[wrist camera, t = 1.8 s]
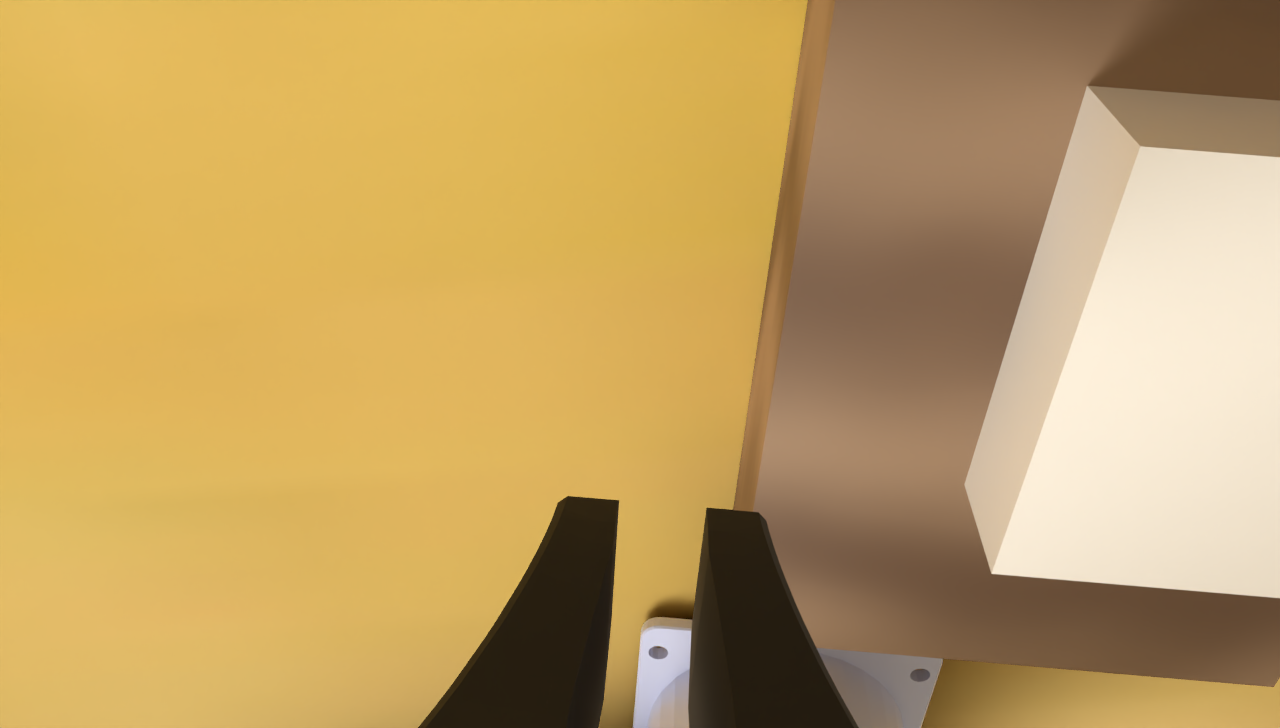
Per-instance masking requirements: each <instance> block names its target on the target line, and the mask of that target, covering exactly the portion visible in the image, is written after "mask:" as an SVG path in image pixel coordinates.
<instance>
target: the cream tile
mask: <svg viewBox="0 0 1280 728" xmlns="http://www.w3.org/2000/svg"><path fill="white" fill-rule="evenodd" d="M964 485H965V488H966V492H967V495H968V498H969V502H970V505H971V508H972V511H973V515H974V518H975V521H976V525H977V528H978V531H979V534H980V538H981V541H982V544H983V548H984V551H985V554H986V557H987V561H988V564H989V567H990V571H991V574H1000V575H1011V576H1023V577H1035V578H1047V579H1059V580H1071V581H1082V582H1094V583H1106V584H1118V585H1130V586H1142V587H1154V588H1165V589H1177V590H1189V591H1201V592H1213V593H1225V594H1236V595H1248V596H1260V597H1272V598H1280V101H1278V100H1265V99H1253V98H1240V97H1227V96H1214V95H1201V94H1188V93H1175V92H1162V91H1150V90H1137V89H1124V88H1111V87H1098V86H1087V87H1086V91H1085V94H1084V97H1083V100H1082V104H1081V107H1080V110H1079V113H1078V117H1077V120H1076V123H1075V127H1074V130H1073V133H1072V136H1071V140H1070V143H1069V146H1068V149H1067V153H1066V156H1065V159H1064V162H1063V166H1062V169H1061V172H1060V175H1059V179H1058V182H1057V185H1056V188H1055V192H1054V195H1053V198H1052V201H1051V205H1050V208H1049V211H1048V214H1047V218H1046V221H1045V224H1044V227H1043V231H1042V234H1041V237H1040V240H1039V244H1038V247H1037V250H1036V253H1035V257H1034V260H1033V263H1032V266H1031V270H1030V273H1029V276H1028V279H1027V283H1026V286H1025V289H1024V292H1023V296H1022V299H1021V302H1020V305H1019V309H1018V312H1017V315H1016V319H1015V322H1014V325H1013V328H1012V332H1011V335H1010V338H1009V341H1008V345H1007V348H1006V351H1005V354H1004V358H1003V361H1002V364H1001V367H1000V371H999V374H998V377H997V380H996V384H995V387H994V390H993V393H992V397H991V400H990V403H989V406H988V410H987V413H986V416H985V419H984V423H983V426H982V429H981V432H980V436H979V439H978V442H977V445H976V449H975V452H974V455H973V458H972V462H971V465H970V468H969V471H968V475H967V478H966V481H965V484H964Z"/></svg>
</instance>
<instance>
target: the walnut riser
mask: <svg viewBox="0 0 1280 728" xmlns="http://www.w3.org/2000/svg"><path fill="white" fill-rule="evenodd" d="M1087 86H1098V87H1111V88H1124V89H1137V90H1150V91H1162V92H1175V93H1188V94H1201V95H1214V96H1227V97H1240V98H1253V99H1265V100H1278V101H1280V0H808V5H807V11H806V18H805V25H804V32H803V39H802V45H801V52H800V59H799V66H798V73H797V79H796V86H795V93H794V100H793V107H792V113H791V120H790V127H789V134H788V141H787V148H786V154H785V161H784V168H783V175H782V182H781V188H780V195H779V202H778V209H777V216H776V222H775V229H774V236H773V243H772V250H771V257H770V263H769V270H768V277H767V284H766V291H765V297H764V304H763V311H762V318H761V325H760V331H759V338H758V345H757V352H756V359H755V366H754V372H753V379H752V386H751V393H750V400H749V406H748V413H747V420H746V427H745V434H744V440H743V447H742V454H741V461H740V468H739V475H738V481H737V488H736V495H735V502H734V509H733V510H738V511H750V512H759V513H760V514H761V515H762V516H763V518H764V519H765V520H766V521H767V525H768V529H769V532H770V536H771V539H772V542H773V545H774V549H775V551H776V554H777V557H778V560H779V563H780V565H781V568H782V571H783V573H784V576H785V579H786V581H787V583H788V586H789V588H790V591H791V593H792V596H793V598H794V601H795V603H796V605H797V607H798V610H799V612H800V614H801V616H802V619H803V621H804V623H805V625H806V627H807V629H808V631H809V634H810V636H811V638H812V640H813V642H814V644H815V646H816V648H824V649H836V650H848V651H859V652H871V653H883V654H894V655H906V656H918V657H929V658H941V659H953V660H964V661H976V662H988V663H999V664H1011V665H1023V666H1034V667H1046V668H1058V669H1069V670H1081V671H1093V672H1104V673H1116V674H1128V675H1139V676H1151V677H1163V678H1174V679H1186V680H1198V681H1209V682H1221V683H1233V684H1245V685H1256V686H1268V687H1274V686H1275V684H1276V682H1277V681H1278V679H1279V677H1280V598H1272V597H1260V596H1248V595H1236V594H1225V593H1213V592H1201V591H1189V590H1177V589H1165V588H1154V587H1142V586H1130V585H1118V584H1106V583H1094V582H1082V581H1071V580H1059V579H1047V578H1035V577H1023V576H1011V575H1000V574H991V571H990V567H989V564H988V561H987V557H986V554H985V551H984V548H983V544H982V541H981V538H980V534H979V531H978V528H977V525H976V521H975V518H974V515H973V511H972V508H971V505H970V502H969V498H968V495H967V492H966V488H965V485H964V484H965V481H966V478H967V475H968V471H969V468H970V465H971V462H972V458H973V455H974V452H975V449H976V445H977V442H978V439H979V436H980V432H981V429H982V426H983V423H984V419H985V416H986V413H987V410H988V406H989V403H990V400H991V397H992V393H993V390H994V387H995V384H996V380H997V377H998V374H999V371H1000V367H1001V364H1002V361H1003V358H1004V354H1005V351H1006V348H1007V345H1008V341H1009V338H1010V335H1011V332H1012V328H1013V325H1014V322H1015V319H1016V315H1017V312H1018V309H1019V305H1020V302H1021V299H1022V296H1023V292H1024V289H1025V286H1026V283H1027V279H1028V276H1029V273H1030V270H1031V266H1032V263H1033V260H1034V257H1035V253H1036V250H1037V247H1038V244H1039V240H1040V237H1041V234H1042V231H1043V227H1044V224H1045V221H1046V218H1047V214H1048V211H1049V208H1050V205H1051V201H1052V198H1053V195H1054V192H1055V188H1056V185H1057V182H1058V179H1059V175H1060V172H1061V169H1062V166H1063V162H1064V159H1065V156H1066V153H1067V149H1068V146H1069V143H1070V140H1071V136H1072V133H1073V130H1074V127H1075V123H1076V120H1077V117H1078V113H1079V110H1080V107H1081V104H1082V100H1083V97H1084V94H1085V91H1086V87H1087Z"/></svg>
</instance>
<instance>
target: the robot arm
mask: <svg viewBox="0 0 1280 728" xmlns="http://www.w3.org/2000/svg"><path fill="white" fill-rule="evenodd" d="M618 507H619V500H607V499H595V498H583V497H571V496H567V497H566V498H564V499H563V500H561V501H560V502H558V504H557V507H556V510H555V513H554V516H553V518H552V521H551V523H550V525H549V527H548V530H547V532H546V534H545V536H544V538H543V540H542V542H541V544H540V546H539V548H538V550H537V552H536V554H535V556H534V558H533V560H532V562H531V563H530V565H529V567H528V569H527V571H526V573H525V574H524V576H523V578H522V580H521V581H520V583H519V585H518V586H517V588H516V590H515V591H514V593H513V595H512V596H511V598H510V599H509V601H508V603H507V604H506V606H505V608H504V609H503V611H502V612H501V614H500V616H499V617H498V619H497V621H496V622H495V624H494V625H493V627H492V628H491V630H490V631H489V633H488V634H487V636H486V637H485V639H484V640H483V642H482V643H481V644H480V646H479V647H478V649H477V650H476V652H475V653H474V654H473V656H472V657H471V659H470V660H469V661H468V663H467V664H466V666H465V667H464V668H463V670H462V671H461V673H460V674H459V676H458V677H457V678H456V680H455V681H454V683H453V684H452V685H451V687H450V688H449V689H448V691H447V692H446V693H445V695H444V696H443V697H442V698H441V700H440V701H439V702H438V704H437V705H436V706H435V707H434V709H433V710H432V711H431V712H430V714H429V715H428V716H427V717H426V719H425V720H424V721H423V722H422V724H421V725H420V726H419V727H418V728H598V726H599V721H600V716H601V710H602V705H603V700H604V690H605V680H606V669H607V659H608V649H609V639H610V628H611V616H612V601H613V585H614V570H615V554H616V539H617V523H618ZM654 646H661V647H662V648H657V647H654ZM942 664H943V659H941V658H929V657H918V656H906V655H894V654H883V653H871V652H859V651H848V650H836V649H824V648H816V646H815V644H814V642H813V640H812V638H811V636H810V634H809V631H808V629H807V627H806V625H805V623H804V621H803V619H802V616H801V614H800V612H799V610H798V607H797V605H796V603H795V601H794V598H793V596H792V593H791V591H790V588H789V586H788V583H787V581H786V579H785V576H784V573H783V571H782V568H781V565H780V563H779V560H778V557H777V554H776V551H775V549H774V545H773V542H772V539H771V536H770V532H769V529H768V525H767V521H766V520H765V519H764V518H763V516H762V515H761V514H760V513H759V512H750V511H738V510H726V509H714V508H707V510H706V518H705V525H704V533H703V541H702V549H701V557H700V565H699V572H698V580H697V588H696V596H695V604H694V612H693V620H691V619H680V618H668V617H654V618H651V619H648V620H647V621H646V622H645V623H643V626H642V628H641V640H640V651H639V662H638V673H637V685H636V696H635V707H634V719H633V728H921V726H922V723H923V720H924V717H925V714H926V711H927V708H928V705H929V702H930V699H931V696H932V694H933V691H934V688H935V685H936V682H937V679H938V676H939V673H940V670H941V667H942ZM916 669H921V670H916Z"/></svg>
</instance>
